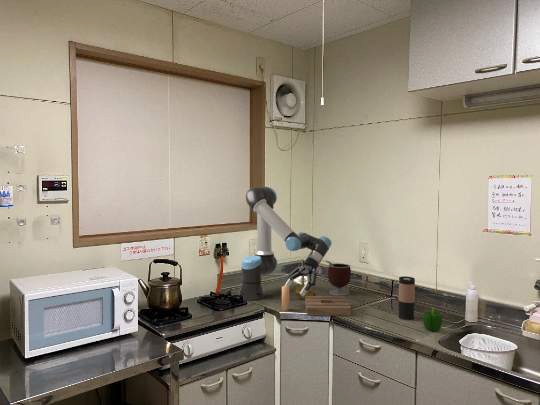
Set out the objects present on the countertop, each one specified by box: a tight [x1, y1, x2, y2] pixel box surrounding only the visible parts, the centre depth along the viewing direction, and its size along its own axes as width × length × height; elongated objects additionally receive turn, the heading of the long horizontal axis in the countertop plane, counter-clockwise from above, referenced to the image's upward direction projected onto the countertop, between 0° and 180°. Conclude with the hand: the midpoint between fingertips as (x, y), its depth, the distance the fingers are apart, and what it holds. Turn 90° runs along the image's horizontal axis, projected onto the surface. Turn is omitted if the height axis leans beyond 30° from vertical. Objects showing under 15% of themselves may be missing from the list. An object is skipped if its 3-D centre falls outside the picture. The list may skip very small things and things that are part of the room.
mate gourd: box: [325, 260, 352, 296], centre depth 255 cm, size 16×14×20 cm
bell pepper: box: [422, 306, 443, 332], centre depth 190 cm, size 8×8×10 cm
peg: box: [281, 285, 290, 312], centre depth 220 cm, size 4×4×12 cm
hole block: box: [304, 295, 352, 316], centre depth 221 cm, size 22×22×4 cm
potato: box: [293, 283, 317, 301], centre depth 241 cm, size 8×13×8 cm, turn 43°
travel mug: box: [397, 276, 416, 321], centre depth 207 cm, size 8×8×20 cm
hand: (292, 292), depth 221 cm, fingers open, 13 cm apart
